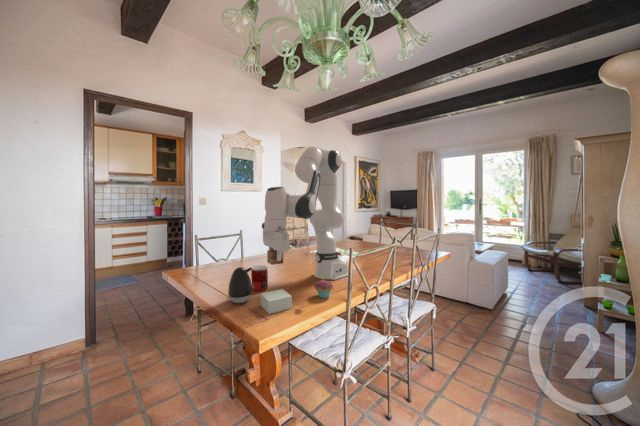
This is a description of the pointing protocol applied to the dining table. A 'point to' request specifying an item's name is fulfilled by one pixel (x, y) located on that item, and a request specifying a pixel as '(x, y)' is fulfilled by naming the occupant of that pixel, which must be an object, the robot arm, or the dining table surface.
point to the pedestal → (276, 301)
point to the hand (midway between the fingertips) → (275, 259)
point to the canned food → (259, 278)
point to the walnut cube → (273, 257)
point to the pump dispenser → (240, 286)
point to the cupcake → (323, 287)
